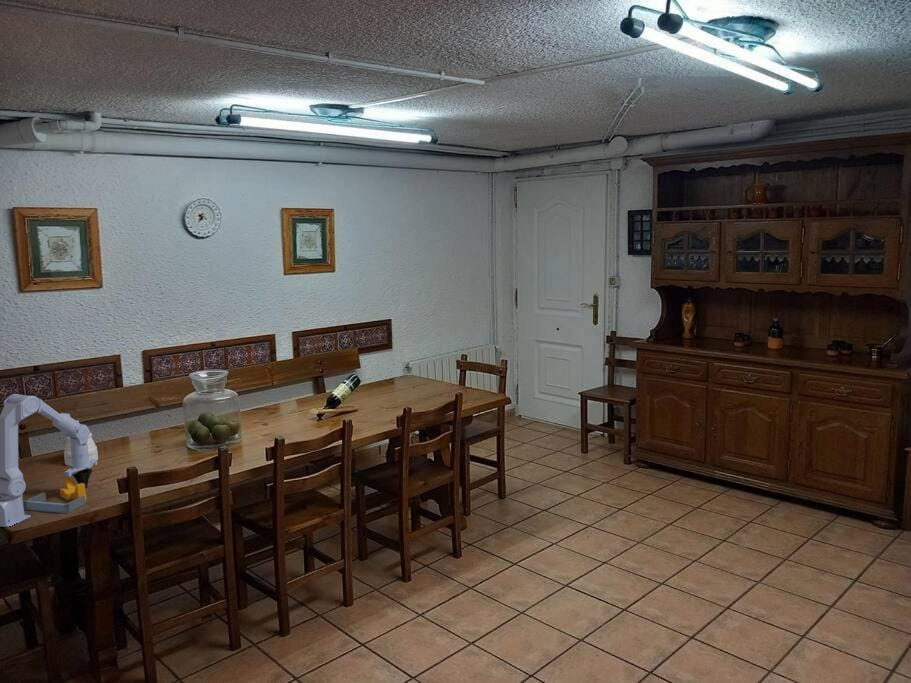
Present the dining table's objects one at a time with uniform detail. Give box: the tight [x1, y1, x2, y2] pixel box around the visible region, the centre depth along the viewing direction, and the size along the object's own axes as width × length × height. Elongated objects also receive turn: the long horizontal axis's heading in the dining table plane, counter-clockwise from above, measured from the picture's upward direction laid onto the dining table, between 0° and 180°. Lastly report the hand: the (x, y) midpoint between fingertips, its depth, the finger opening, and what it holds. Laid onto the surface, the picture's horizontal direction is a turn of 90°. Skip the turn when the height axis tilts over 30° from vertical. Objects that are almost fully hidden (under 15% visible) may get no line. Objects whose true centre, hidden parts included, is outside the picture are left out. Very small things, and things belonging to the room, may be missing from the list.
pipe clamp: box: [59, 476, 87, 502], centre depth 263 cm, size 12×4×6 cm, turn 50°
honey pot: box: [63, 432, 99, 467], centre depth 305 cm, size 13×13×18 cm
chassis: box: [23, 492, 86, 514], centre depth 255 cm, size 9×18×3 cm, turn 77°
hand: (83, 488), depth 269 cm, fingers closed
